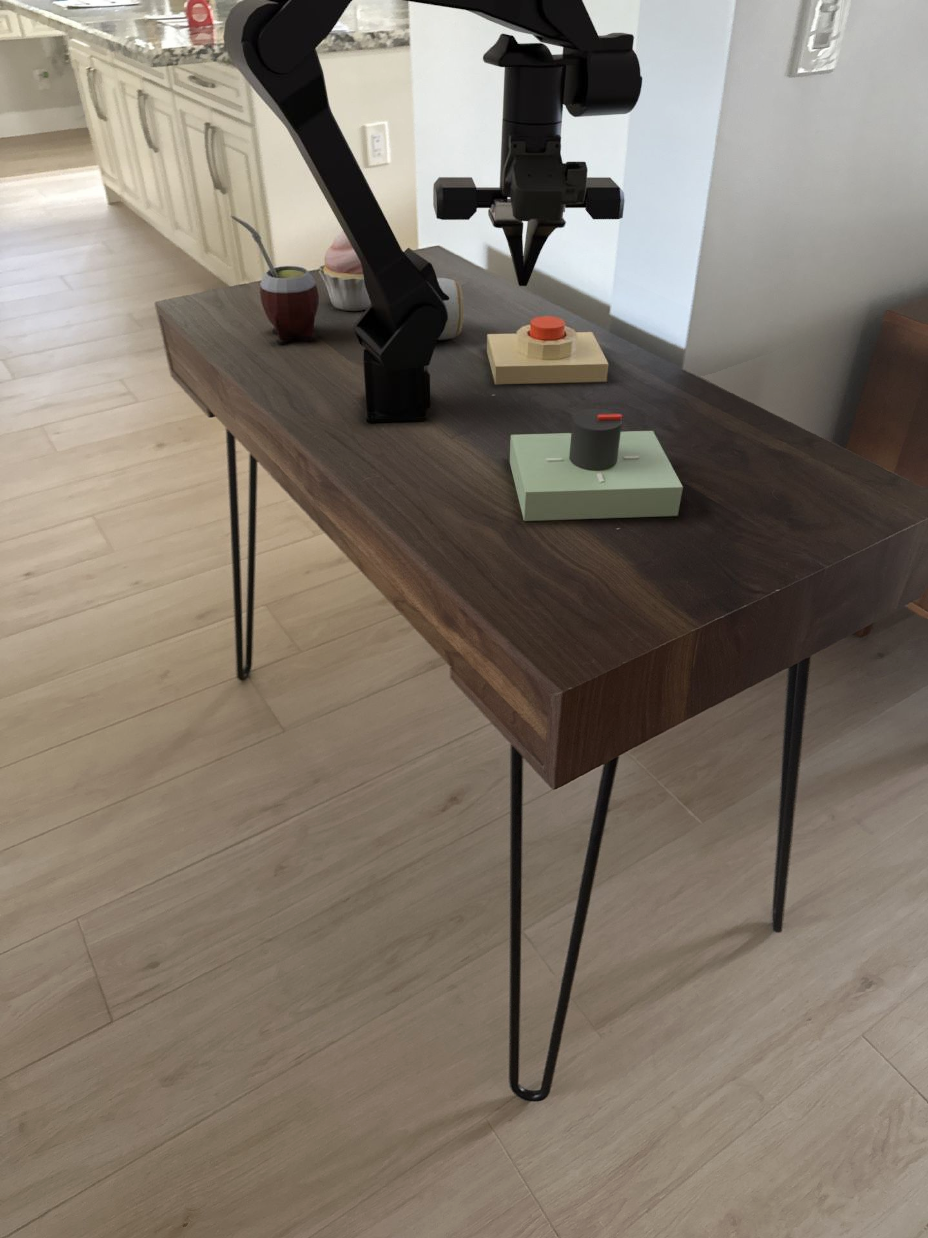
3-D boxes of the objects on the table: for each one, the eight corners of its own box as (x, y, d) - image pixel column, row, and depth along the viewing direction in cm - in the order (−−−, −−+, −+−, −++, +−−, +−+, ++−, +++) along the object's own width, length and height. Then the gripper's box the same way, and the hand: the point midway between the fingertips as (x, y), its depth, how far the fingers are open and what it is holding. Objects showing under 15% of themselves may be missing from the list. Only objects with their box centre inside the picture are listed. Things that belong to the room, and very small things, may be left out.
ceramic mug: (465, 346, 112) (466, 283, 107) (400, 350, 111) (397, 287, 106) (450, 318, 120) (450, 258, 116) (389, 321, 119) (386, 261, 114)
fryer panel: (523, 521, 80) (525, 490, 78) (509, 462, 89) (510, 432, 87) (677, 516, 81) (683, 485, 79) (648, 457, 90) (653, 428, 88)
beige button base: (495, 384, 103) (496, 350, 101) (486, 351, 111) (487, 319, 109) (606, 381, 104) (610, 348, 102) (590, 348, 112) (593, 317, 109)
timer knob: (573, 471, 81) (577, 427, 78) (565, 448, 84) (569, 405, 82) (621, 469, 81) (627, 426, 79) (611, 447, 85) (616, 404, 82)
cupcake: (403, 302, 125) (400, 226, 118) (356, 320, 119) (351, 241, 113) (354, 288, 129) (349, 214, 123) (307, 305, 123) (299, 228, 117)
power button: (532, 343, 104) (532, 328, 102) (527, 330, 107) (528, 316, 106) (566, 342, 104) (567, 327, 103) (560, 329, 107) (561, 315, 106)
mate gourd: (332, 332, 116) (322, 207, 106) (296, 353, 110) (282, 223, 101) (284, 322, 118) (270, 199, 109) (247, 342, 113) (229, 214, 103)
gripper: (441, 134, 79) (440, 312, 89) (648, 135, 81) (625, 310, 90) (432, 113, 88) (432, 276, 97) (620, 114, 89) (602, 275, 99)
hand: (522, 285), depth 96 cm, fingers closed
